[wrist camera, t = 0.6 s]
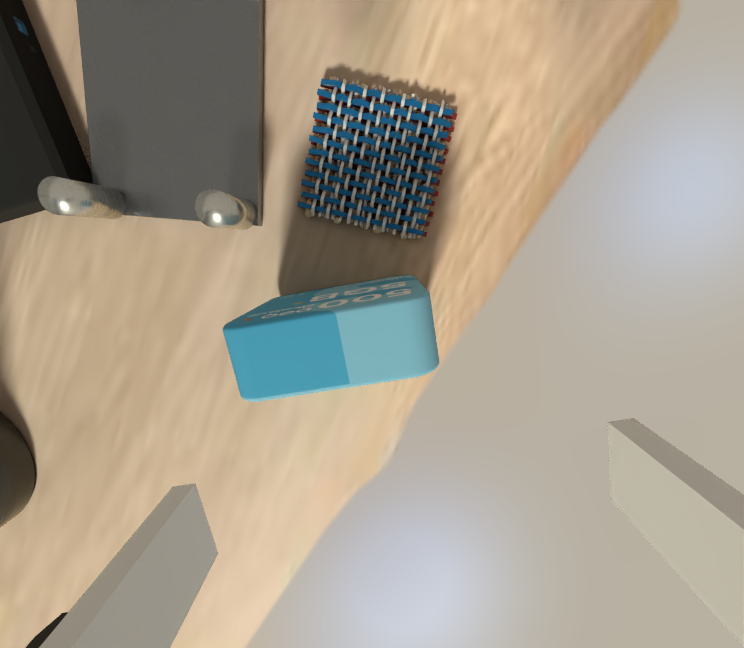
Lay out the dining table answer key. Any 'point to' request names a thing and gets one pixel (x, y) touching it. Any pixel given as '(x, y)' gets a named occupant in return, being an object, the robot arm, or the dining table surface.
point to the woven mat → (376, 157)
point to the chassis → (170, 112)
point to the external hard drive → (31, 119)
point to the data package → (334, 339)
